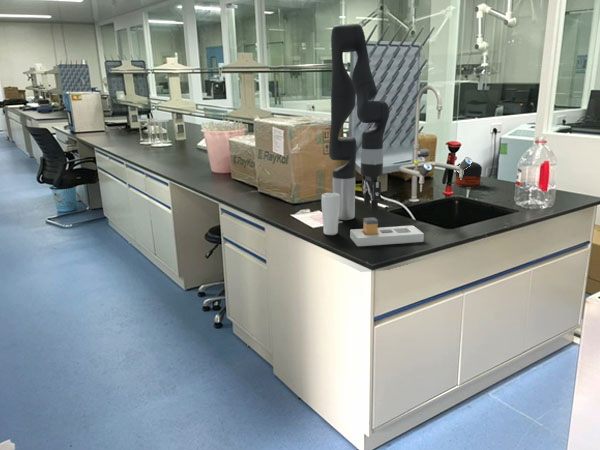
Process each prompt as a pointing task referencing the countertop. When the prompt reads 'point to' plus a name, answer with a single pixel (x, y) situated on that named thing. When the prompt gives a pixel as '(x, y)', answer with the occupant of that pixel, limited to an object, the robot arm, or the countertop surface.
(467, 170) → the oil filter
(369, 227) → the plug
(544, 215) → the countertop surface
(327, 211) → the drinking glass
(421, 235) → the pdu strip
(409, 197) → the countertop surface
